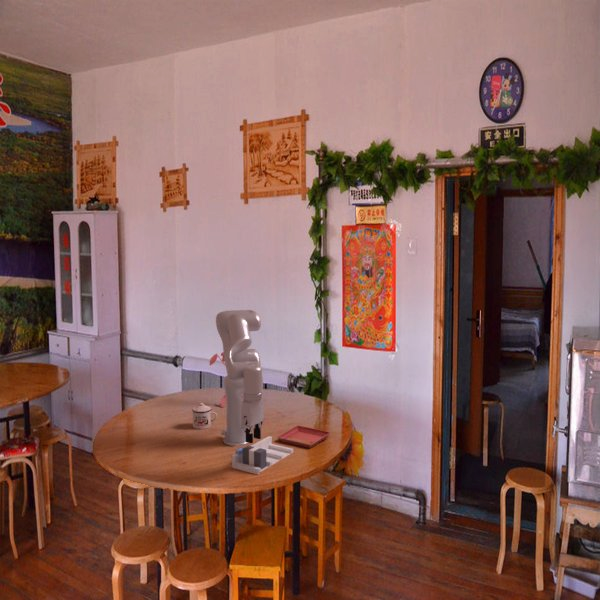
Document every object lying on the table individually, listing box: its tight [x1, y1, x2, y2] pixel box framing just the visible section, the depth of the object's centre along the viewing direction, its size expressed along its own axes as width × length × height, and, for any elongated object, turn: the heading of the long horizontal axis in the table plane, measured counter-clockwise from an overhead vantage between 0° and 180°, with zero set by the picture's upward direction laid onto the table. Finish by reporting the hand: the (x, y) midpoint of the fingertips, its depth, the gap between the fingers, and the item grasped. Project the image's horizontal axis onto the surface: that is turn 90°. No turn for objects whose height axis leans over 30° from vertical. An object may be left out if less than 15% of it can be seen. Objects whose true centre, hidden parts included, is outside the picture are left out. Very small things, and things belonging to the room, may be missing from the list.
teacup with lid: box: [191, 402, 218, 430], centre depth 289 cm, size 12×9×12 cm
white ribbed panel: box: [231, 435, 294, 475], centre depth 248 cm, size 13×26×6 cm, turn 148°
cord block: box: [242, 445, 266, 469], centre depth 240 cm, size 9×4×7 cm, turn 59°
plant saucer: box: [277, 425, 331, 449], centre depth 271 cm, size 18×18×3 cm
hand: (253, 439), depth 240 cm, fingers open, 4 cm apart
